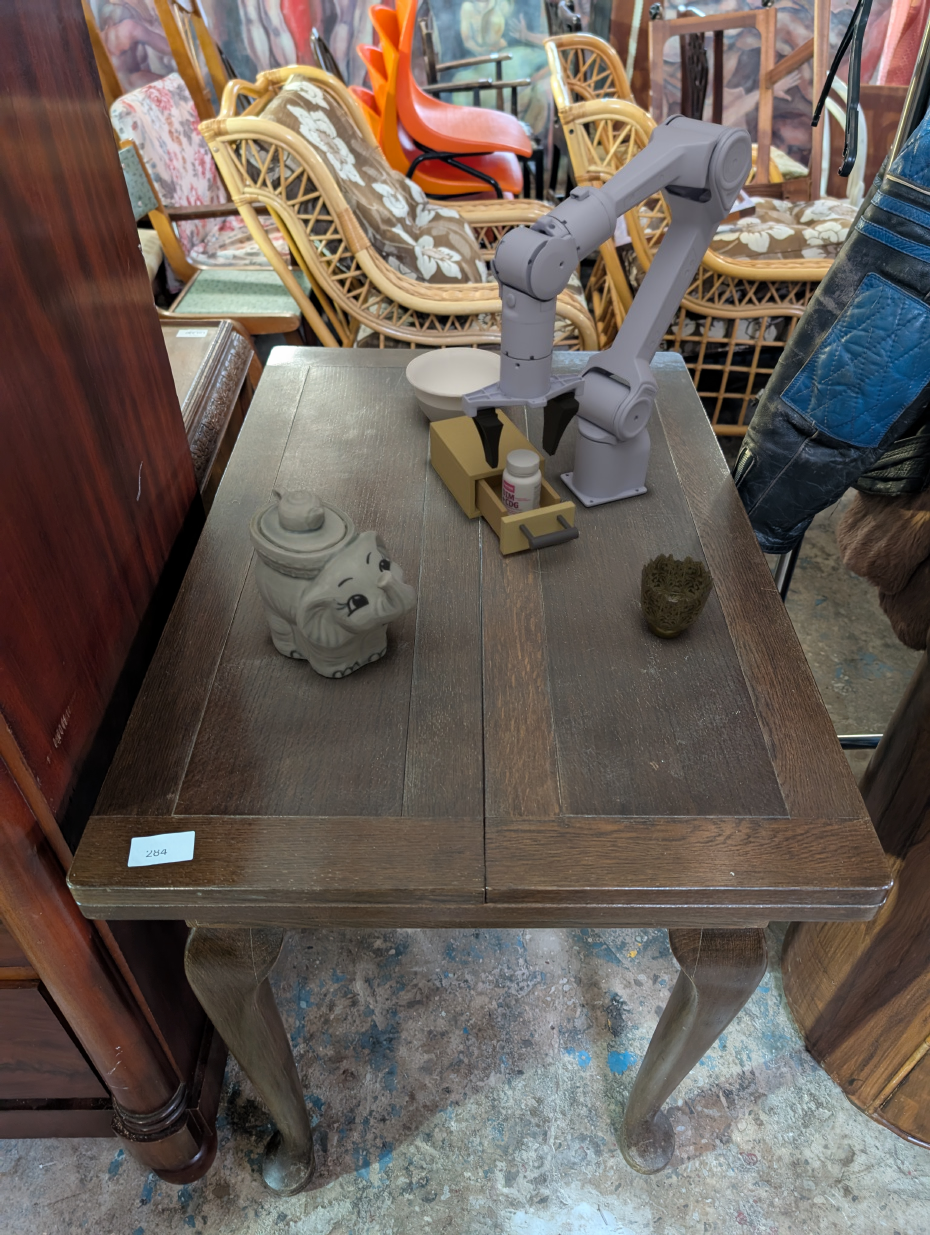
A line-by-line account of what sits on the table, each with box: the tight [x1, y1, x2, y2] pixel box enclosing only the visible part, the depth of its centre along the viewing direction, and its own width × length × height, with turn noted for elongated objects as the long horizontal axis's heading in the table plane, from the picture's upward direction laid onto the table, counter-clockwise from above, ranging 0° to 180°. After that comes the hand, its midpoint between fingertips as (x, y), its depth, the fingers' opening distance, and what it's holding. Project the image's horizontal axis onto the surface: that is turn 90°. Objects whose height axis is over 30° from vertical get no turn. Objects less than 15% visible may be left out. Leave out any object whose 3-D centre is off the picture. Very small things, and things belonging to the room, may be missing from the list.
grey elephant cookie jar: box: [248, 484, 417, 679], centre depth 80 cm, size 16×15×19 cm
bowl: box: [405, 346, 500, 422], centre depth 120 cm, size 16×16×8 cm
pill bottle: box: [502, 449, 541, 516], centre depth 98 cm, size 5×5×8 cm
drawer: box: [475, 474, 580, 555], centre depth 100 cm, size 18×9×5 cm, turn 22°
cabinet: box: [429, 408, 546, 520], centre depth 108 cm, size 15×11×7 cm
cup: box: [640, 552, 715, 639], centre depth 86 cm, size 8×7×8 cm
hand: (520, 457), depth 96 cm, fingers open, 7 cm apart
